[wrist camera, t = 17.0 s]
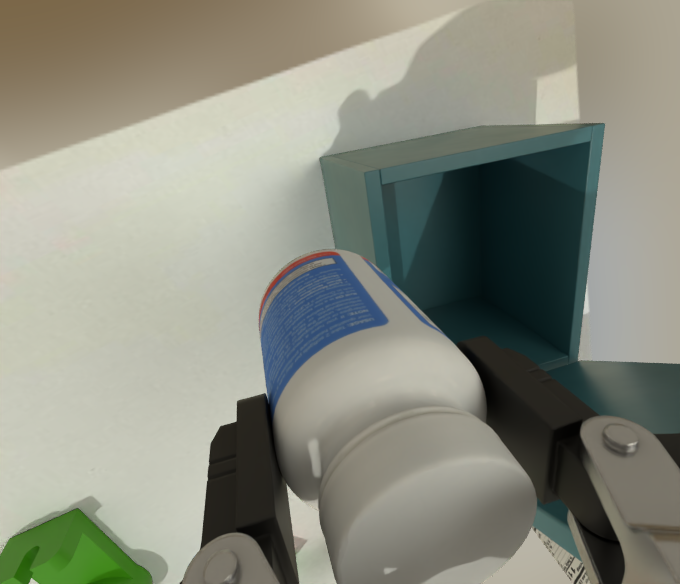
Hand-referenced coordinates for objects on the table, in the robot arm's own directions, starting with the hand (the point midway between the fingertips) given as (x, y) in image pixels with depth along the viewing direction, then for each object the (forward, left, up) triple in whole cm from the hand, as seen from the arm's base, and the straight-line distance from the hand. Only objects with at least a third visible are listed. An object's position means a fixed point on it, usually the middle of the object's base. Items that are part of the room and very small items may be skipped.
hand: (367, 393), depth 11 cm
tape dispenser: (+32, -24, -22) cm, 46 cm away
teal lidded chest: (+3, +11, -22) cm, 25 cm away
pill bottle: (0, 0, -6) cm, 6 cm away
